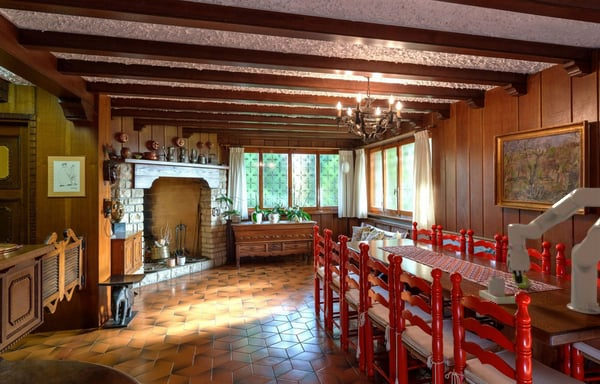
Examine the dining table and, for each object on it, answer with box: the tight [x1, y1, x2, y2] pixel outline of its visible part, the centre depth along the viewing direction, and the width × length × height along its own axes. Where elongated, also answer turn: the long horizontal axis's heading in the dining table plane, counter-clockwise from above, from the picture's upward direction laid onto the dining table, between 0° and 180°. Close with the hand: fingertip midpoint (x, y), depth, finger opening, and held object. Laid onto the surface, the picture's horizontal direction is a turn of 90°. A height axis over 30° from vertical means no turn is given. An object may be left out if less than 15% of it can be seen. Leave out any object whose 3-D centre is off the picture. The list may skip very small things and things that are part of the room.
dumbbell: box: [511, 272, 531, 289], centre depth 211 cm, size 16×8×7 cm, turn 154°
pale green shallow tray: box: [478, 289, 516, 305], centre depth 184 cm, size 13×11×3 cm
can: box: [487, 275, 506, 297], centre depth 184 cm, size 8×8×12 cm
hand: (518, 282), depth 184 cm, fingers closed
